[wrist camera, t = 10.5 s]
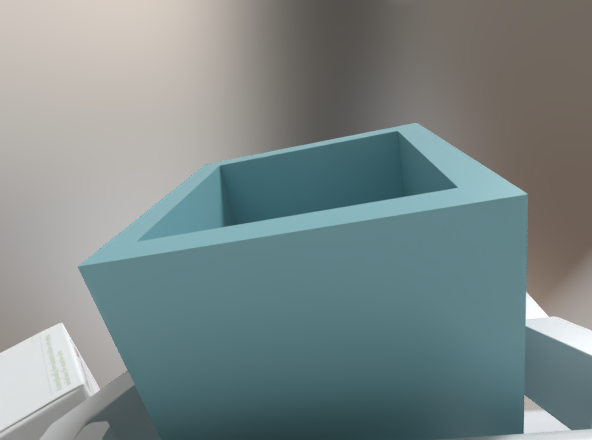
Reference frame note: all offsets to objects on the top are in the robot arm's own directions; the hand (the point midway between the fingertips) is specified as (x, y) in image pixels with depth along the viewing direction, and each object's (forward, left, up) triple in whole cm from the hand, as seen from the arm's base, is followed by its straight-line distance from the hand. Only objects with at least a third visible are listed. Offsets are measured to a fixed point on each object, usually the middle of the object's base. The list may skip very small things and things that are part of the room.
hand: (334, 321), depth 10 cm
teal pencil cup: (0, -1, -5) cm, 6 cm away
